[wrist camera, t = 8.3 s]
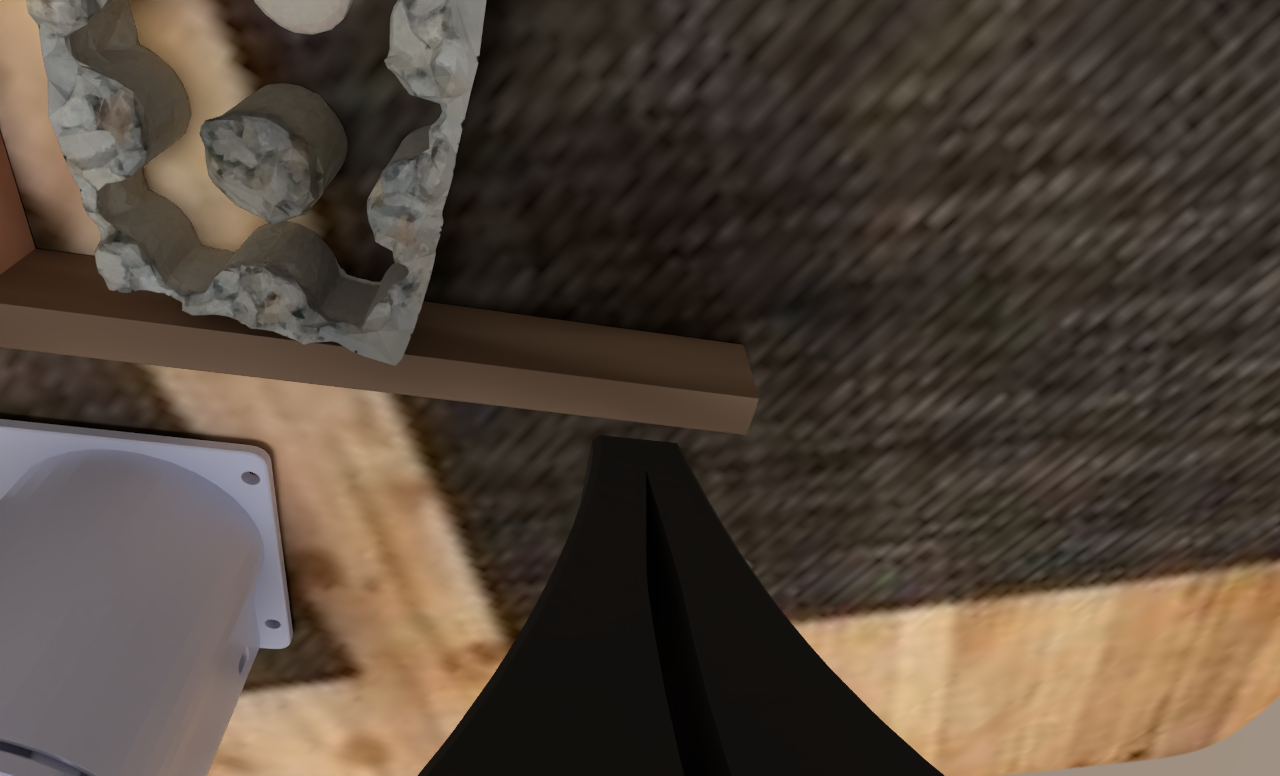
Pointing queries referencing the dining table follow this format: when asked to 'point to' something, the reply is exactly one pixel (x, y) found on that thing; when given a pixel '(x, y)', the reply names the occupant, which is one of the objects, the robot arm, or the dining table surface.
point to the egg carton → (259, 170)
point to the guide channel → (431, 366)
